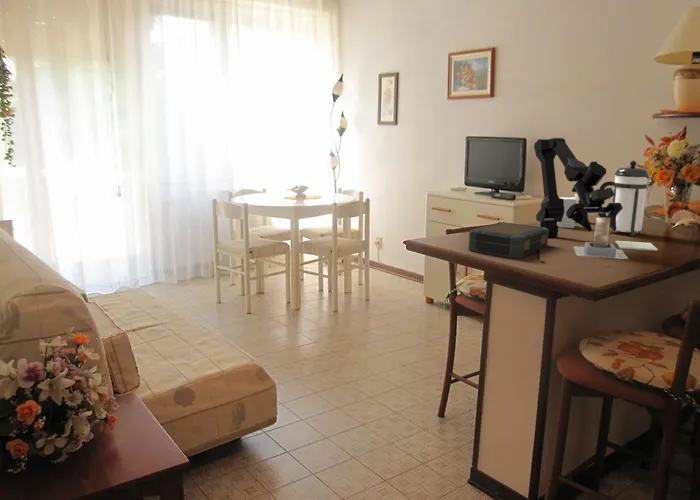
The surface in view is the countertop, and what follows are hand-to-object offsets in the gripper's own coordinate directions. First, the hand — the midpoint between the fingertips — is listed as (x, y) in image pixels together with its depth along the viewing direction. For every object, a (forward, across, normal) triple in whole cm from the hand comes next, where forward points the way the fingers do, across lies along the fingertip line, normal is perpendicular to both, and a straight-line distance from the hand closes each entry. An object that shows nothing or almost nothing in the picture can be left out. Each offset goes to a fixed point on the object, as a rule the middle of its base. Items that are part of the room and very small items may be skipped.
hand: (603, 230), depth 197 cm
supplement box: (-33, +20, +45) cm, 60 cm away
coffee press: (-20, +35, +33) cm, 52 cm away
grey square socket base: (+6, 0, +7) cm, 9 cm away
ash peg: (+5, 0, +6) cm, 8 cm away
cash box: (-4, -27, +17) cm, 32 cm away
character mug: (-40, +34, +52) cm, 74 cm away
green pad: (0, +20, +12) cm, 23 cm away
